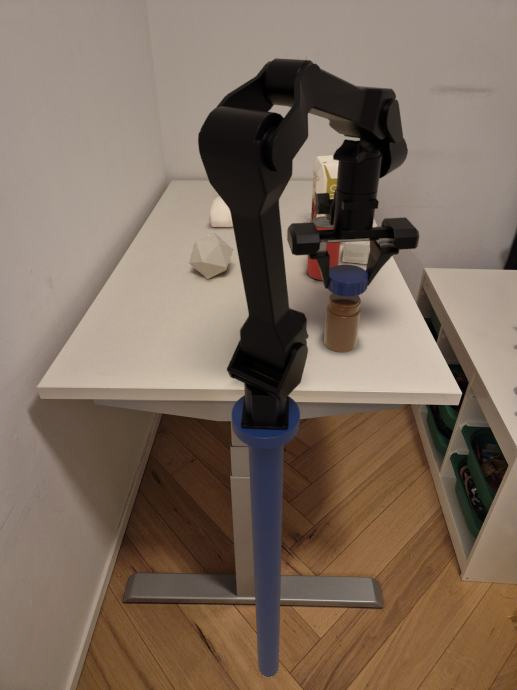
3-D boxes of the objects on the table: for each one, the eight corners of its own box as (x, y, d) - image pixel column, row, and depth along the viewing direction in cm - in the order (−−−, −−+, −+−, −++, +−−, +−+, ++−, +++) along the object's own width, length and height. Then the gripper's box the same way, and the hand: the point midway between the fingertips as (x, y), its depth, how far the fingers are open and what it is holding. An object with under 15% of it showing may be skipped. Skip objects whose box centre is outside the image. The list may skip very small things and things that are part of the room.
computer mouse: (239, 211, 133) (238, 189, 129) (233, 229, 122) (232, 205, 118) (217, 210, 133) (215, 188, 129) (209, 228, 123) (207, 205, 119)
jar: (358, 352, 79) (364, 307, 73) (325, 352, 79) (328, 306, 74) (354, 333, 83) (359, 289, 78) (322, 333, 83) (326, 289, 78)
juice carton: (338, 231, 120) (345, 153, 109) (345, 245, 113) (353, 164, 102) (309, 232, 120) (312, 154, 108) (314, 246, 113) (318, 165, 102)
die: (217, 262, 108) (187, 232, 102) (246, 251, 103) (216, 219, 97) (206, 290, 104) (174, 261, 98) (235, 280, 98) (204, 248, 92)
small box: (368, 254, 109) (371, 234, 106) (367, 265, 104) (370, 244, 101) (344, 252, 110) (346, 232, 107) (341, 262, 106) (343, 242, 103)
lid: (347, 273, 78) (348, 260, 77) (375, 288, 74) (377, 275, 72) (317, 284, 75) (318, 271, 74) (345, 301, 71) (346, 287, 70)
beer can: (302, 278, 100) (305, 224, 93) (311, 265, 105) (314, 213, 98) (333, 283, 98) (337, 229, 91) (340, 270, 103) (345, 217, 96)
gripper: (402, 168, 72) (387, 260, 82) (283, 174, 71) (281, 266, 80) (430, 192, 63) (409, 292, 73) (294, 199, 62) (291, 299, 72)
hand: (346, 286), depth 75 cm, fingers closed on lid, 6 cm apart
